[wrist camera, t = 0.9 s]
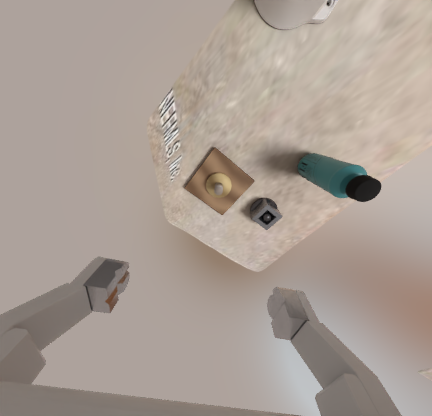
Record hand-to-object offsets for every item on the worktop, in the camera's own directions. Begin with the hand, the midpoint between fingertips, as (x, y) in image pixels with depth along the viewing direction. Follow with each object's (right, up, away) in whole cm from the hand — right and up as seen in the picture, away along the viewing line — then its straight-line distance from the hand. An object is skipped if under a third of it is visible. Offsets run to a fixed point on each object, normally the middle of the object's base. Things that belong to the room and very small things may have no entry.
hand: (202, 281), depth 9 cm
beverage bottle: (+25, +16, +34) cm, 45 cm away
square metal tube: (+15, +3, +39) cm, 43 cm away
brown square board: (+2, +11, +37) cm, 39 cm away
